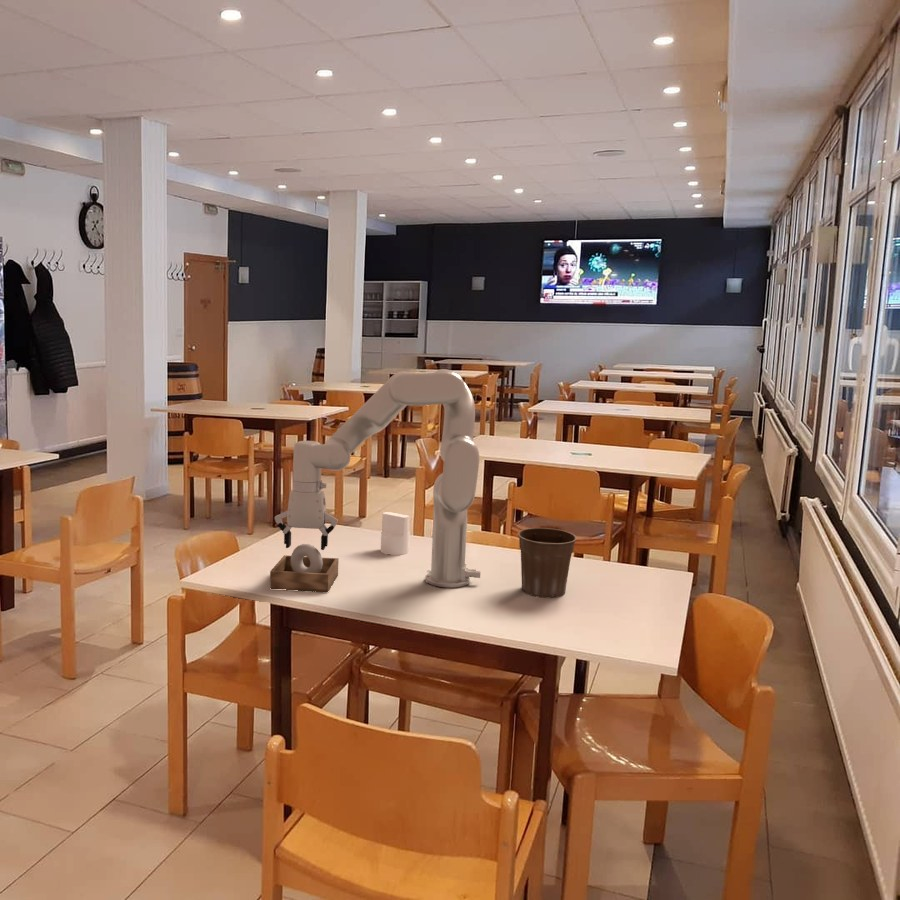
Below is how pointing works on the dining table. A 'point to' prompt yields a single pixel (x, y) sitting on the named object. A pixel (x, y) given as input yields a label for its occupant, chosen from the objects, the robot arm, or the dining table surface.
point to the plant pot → (545, 560)
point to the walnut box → (303, 576)
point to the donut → (311, 554)
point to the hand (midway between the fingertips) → (305, 547)
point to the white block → (395, 533)
